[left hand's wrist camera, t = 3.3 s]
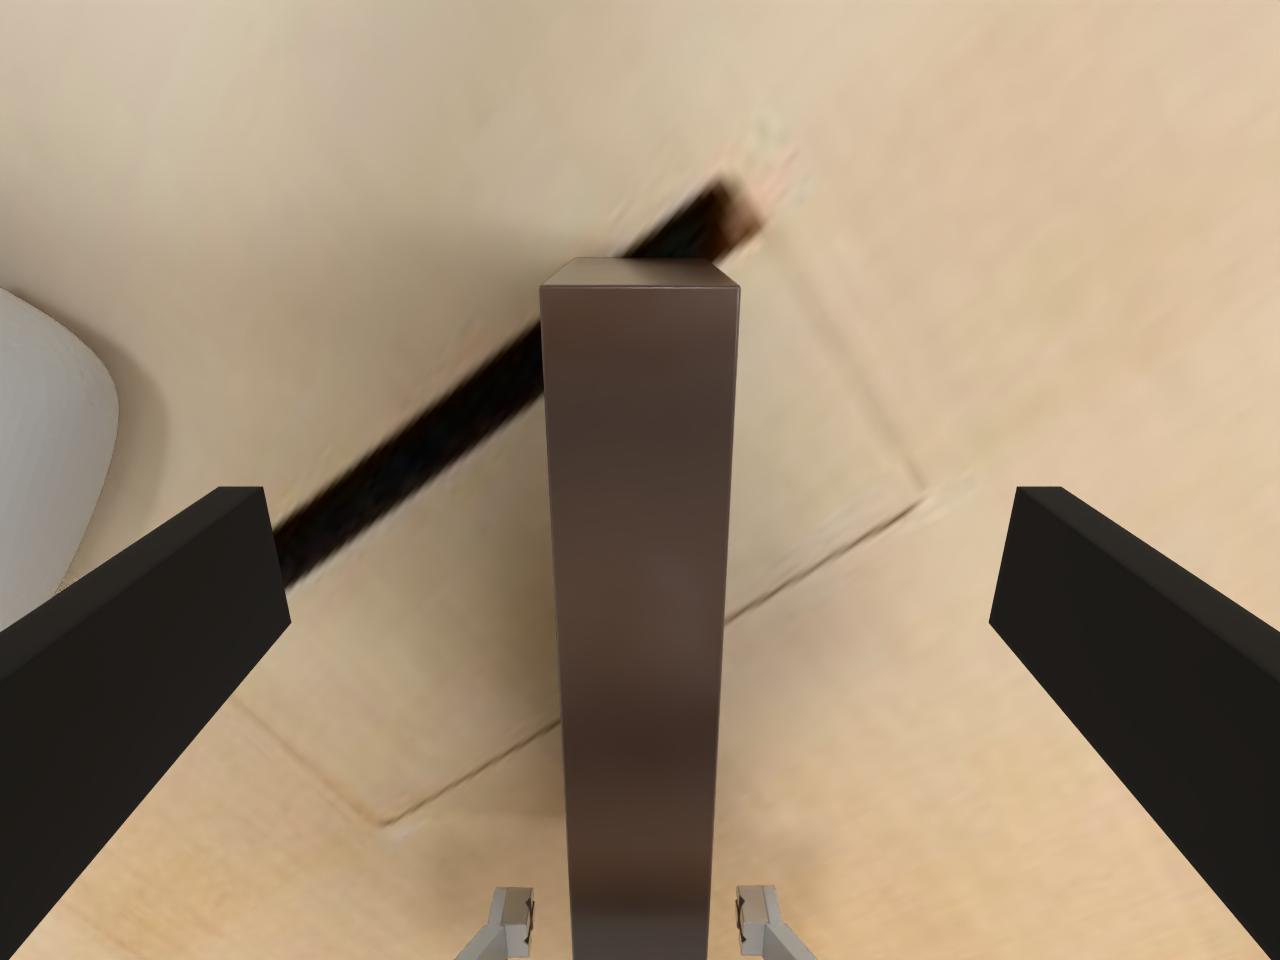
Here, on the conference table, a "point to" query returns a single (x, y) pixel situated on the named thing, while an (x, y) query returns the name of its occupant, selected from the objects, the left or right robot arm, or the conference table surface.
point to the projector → (47, 451)
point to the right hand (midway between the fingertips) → (635, 896)
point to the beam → (639, 587)
